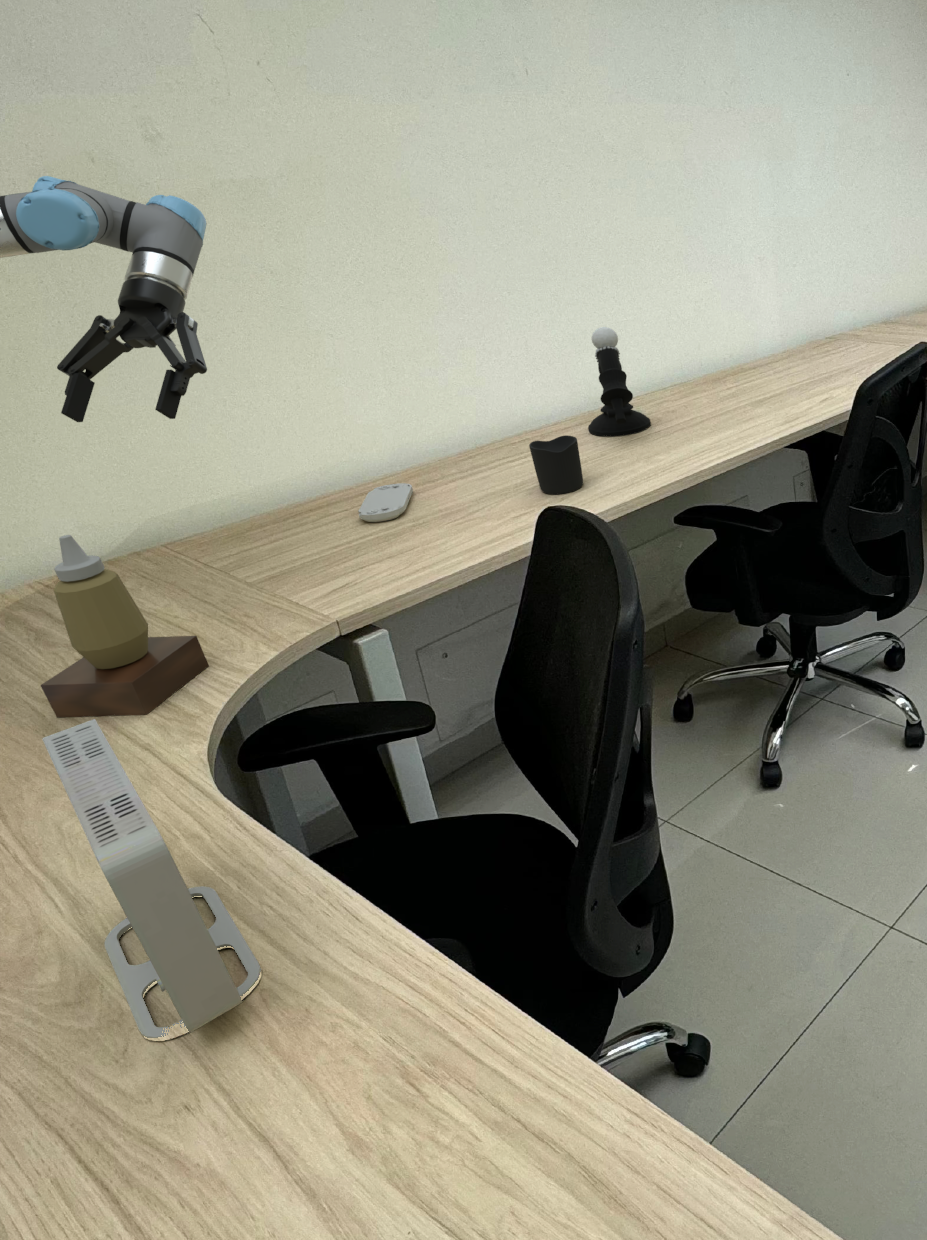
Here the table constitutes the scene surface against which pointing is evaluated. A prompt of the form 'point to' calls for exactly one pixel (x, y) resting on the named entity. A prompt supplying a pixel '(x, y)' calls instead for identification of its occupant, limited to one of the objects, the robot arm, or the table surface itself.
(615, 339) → the sculpture
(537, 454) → the pen holder
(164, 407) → the robot arm
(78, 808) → the network device
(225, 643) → the table surface
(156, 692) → the riser
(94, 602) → the squeeze bottle
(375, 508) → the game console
